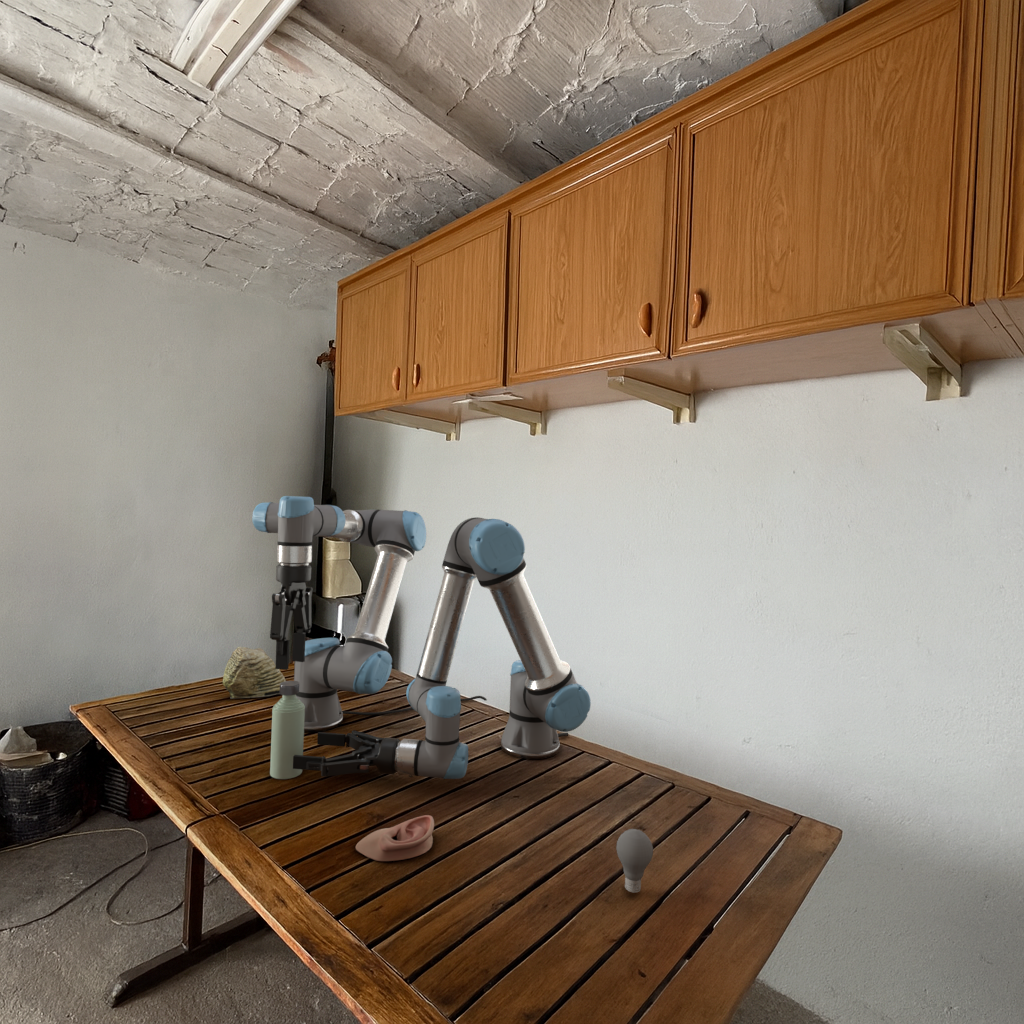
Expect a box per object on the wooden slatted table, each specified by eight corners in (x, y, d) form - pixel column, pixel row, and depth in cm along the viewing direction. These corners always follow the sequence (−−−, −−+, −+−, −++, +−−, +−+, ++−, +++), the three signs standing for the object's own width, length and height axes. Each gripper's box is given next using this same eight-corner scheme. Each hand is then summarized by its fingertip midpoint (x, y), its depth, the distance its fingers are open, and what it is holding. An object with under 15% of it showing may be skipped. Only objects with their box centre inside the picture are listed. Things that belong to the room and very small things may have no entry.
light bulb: (610, 879, 108) (613, 822, 108) (644, 879, 109) (647, 822, 109) (619, 902, 102) (622, 840, 102) (655, 901, 103) (658, 840, 103)
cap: (284, 696, 141) (284, 687, 141) (276, 692, 144) (276, 682, 144) (302, 693, 144) (302, 683, 144) (293, 688, 147) (294, 679, 147)
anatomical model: (348, 834, 112) (375, 804, 123) (347, 856, 112) (374, 824, 123) (419, 845, 109) (440, 813, 120) (418, 868, 109) (439, 834, 121)
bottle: (278, 782, 140) (281, 691, 139) (264, 771, 145) (268, 684, 144) (307, 773, 145) (311, 685, 144) (293, 763, 150) (297, 678, 149)
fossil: (218, 695, 195) (220, 647, 195) (278, 685, 208) (279, 640, 207) (228, 703, 189) (230, 653, 188) (289, 692, 201) (290, 645, 201)
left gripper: (300, 559, 154) (297, 653, 154) (254, 566, 135) (250, 674, 135) (329, 561, 153) (325, 656, 153) (286, 569, 134) (282, 677, 134)
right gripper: (382, 799, 129) (281, 790, 131) (411, 751, 154) (326, 744, 156) (383, 762, 129) (282, 754, 131) (412, 720, 154) (327, 714, 156)
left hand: (290, 664), depth 144 cm, fingers open, 6 cm apart
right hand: (306, 749), depth 143 cm, fingers open, 13 cm apart
